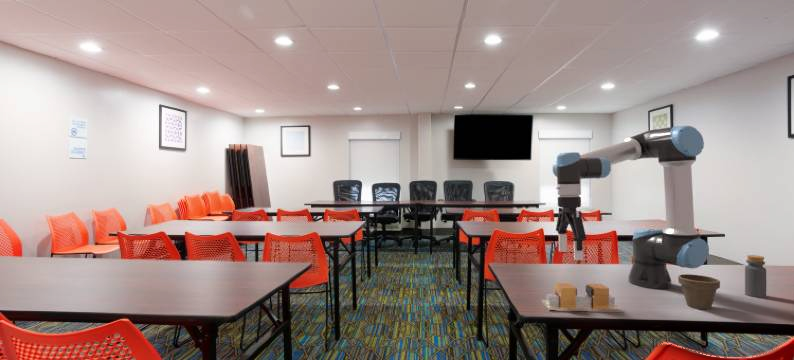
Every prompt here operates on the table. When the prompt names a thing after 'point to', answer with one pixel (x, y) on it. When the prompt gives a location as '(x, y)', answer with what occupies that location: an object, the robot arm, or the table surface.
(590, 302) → the rail
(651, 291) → the table surface
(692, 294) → the flower pot
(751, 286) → the bottle
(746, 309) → the table surface
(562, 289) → the orange cube
